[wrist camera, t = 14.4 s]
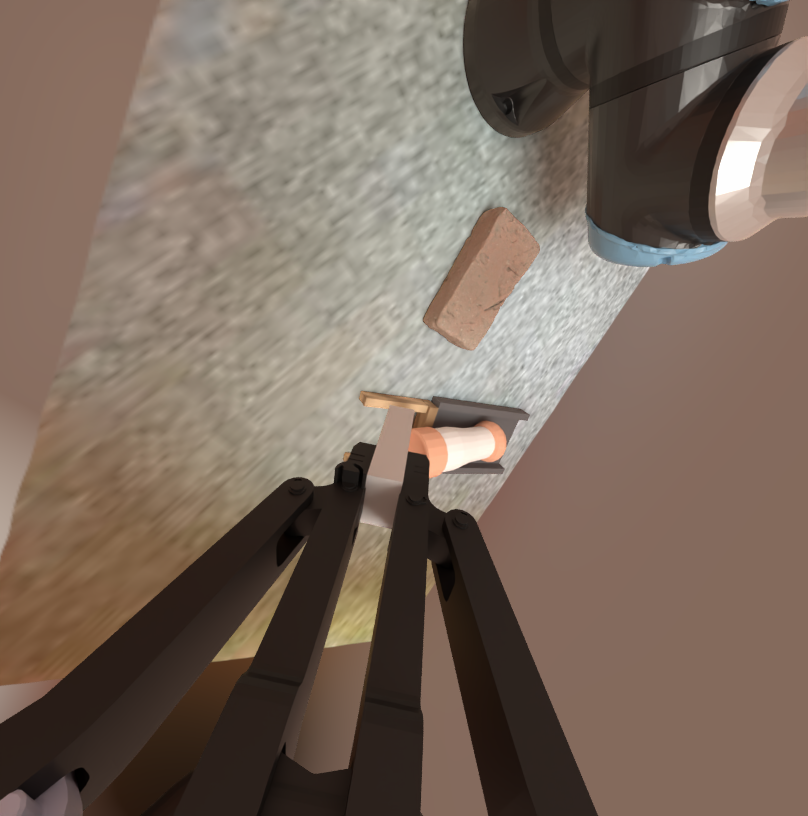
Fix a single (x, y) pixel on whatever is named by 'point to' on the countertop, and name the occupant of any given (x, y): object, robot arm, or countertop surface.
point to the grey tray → (469, 416)
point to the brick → (482, 278)
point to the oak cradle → (422, 407)
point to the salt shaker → (458, 445)
